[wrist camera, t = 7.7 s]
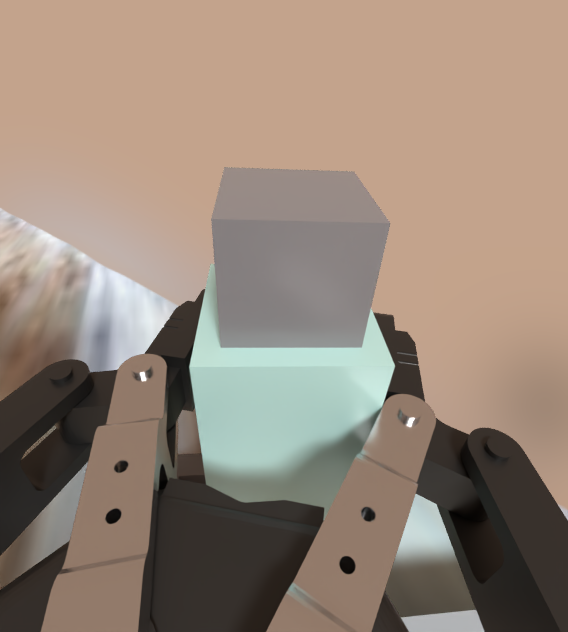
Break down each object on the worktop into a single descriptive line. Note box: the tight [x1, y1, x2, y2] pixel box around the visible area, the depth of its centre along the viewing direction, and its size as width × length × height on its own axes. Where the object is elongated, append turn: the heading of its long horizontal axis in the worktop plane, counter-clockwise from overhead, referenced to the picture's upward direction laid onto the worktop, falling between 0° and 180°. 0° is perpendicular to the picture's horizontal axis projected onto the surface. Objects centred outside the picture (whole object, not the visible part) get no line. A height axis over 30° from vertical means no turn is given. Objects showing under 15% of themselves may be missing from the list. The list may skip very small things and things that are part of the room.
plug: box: [189, 167, 395, 519], centre depth 12 cm, size 4×4×14 cm
